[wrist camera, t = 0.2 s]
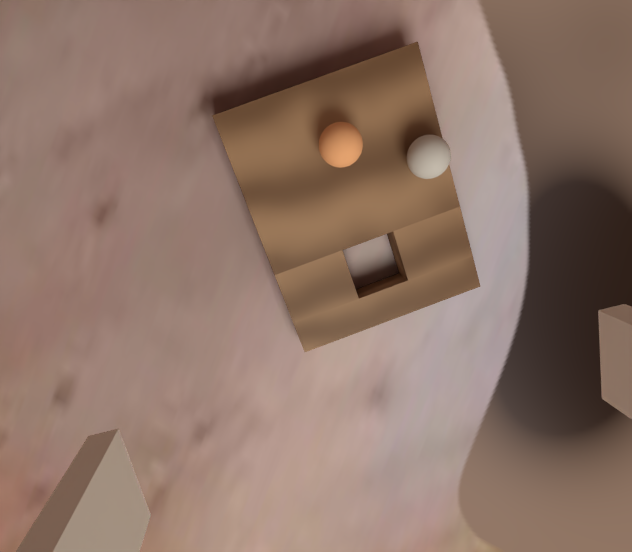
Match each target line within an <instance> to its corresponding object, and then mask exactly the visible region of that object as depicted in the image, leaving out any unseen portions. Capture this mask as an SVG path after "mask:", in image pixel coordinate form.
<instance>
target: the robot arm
mask: <svg viewBox="0 0 632 552" xmlns="http://www.w3.org/2000/svg"><path fill="white" fill-rule="evenodd" d="M599 336H600V363H601V388H602V399H603V400H605V401H606V402H608V403H609V404H611V405H612V406H614V407H615V408H616V409H618V410H619V411H621V412H622V413H624V414H625V415H626V416H628V417H629V418H631V419H632V307H630V306H628V305H626V304H623V305H619V306H615V307H611V308H607V309H603V310H599ZM150 516H151V514H150V512H149V509H148V506H147V503H146V501H145V498H144V495H143V493H142V490H141V487H140V485H139V482H138V479H137V477H136V474H135V471H134V469H133V466H132V463H131V461H130V458H129V455H128V453H127V450H126V447H125V445H124V442H123V439H122V436H121V434H120V431H119V429H115V430H111V431H107V432H103V433H99V434H95V435H91V436H88V438H87V439H86V441H85V442H84V444H83V446H82V447H81V449H80V450H79V452H78V454H77V455H76V457H75V458H74V460H73V462H72V463H71V465H70V466H69V468H68V469H67V471H66V473H65V474H64V476H63V477H62V479H61V481H60V482H59V484H58V485H57V487H56V489H55V490H54V492H53V493H52V495H51V496H50V498H49V500H48V501H47V503H46V504H45V506H44V508H43V509H42V511H41V512H40V514H39V516H38V517H37V519H36V520H35V522H34V524H33V525H32V527H31V528H30V530H29V531H28V533H27V535H26V536H25V538H24V539H23V541H22V543H21V544H20V546H19V547H18V549H17V551H16V552H140V548H141V545H142V542H143V539H144V536H145V532H146V529H147V526H148V523H149V520H150Z"/></svg>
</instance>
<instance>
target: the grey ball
mask: <svg viewBox="0 0 632 552" xmlns="http://www.w3.org/2000/svg"><path fill="white" fill-rule="evenodd" d="M450 159H451V152H450V148H449V146H448V144H447V143H446V141H445V140H444V139H442V138H441V137H439V136H436V135H424V136H421V137H419V138H417V139H416V140H415V141H414V142H413V143H412V144H411V145H410V147H409V149H408V152H407V164H408V167H409V169H410V170H411V172H412V173H413V174H414V175H416V176H417V177H420V178H423V179H431V178H435V177H437V176H439V175H441V174H442V173H443V172H444V171H445V170H446V169H447V167H448V165H449V163H450Z"/></svg>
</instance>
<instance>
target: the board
mask: <svg viewBox="0 0 632 552" xmlns="http://www.w3.org/2000/svg"><path fill="white" fill-rule="evenodd" d="M213 119H214V121H215V124H216V126H217V129H218V132H219V134H220V137H221V139H222V142H223V144H224V147H225V150H226V152H227V155H228V157H229V160H230V162H231V165H232V167H233V170H234V173H235V175H236V178H237V180H238V183H239V185H240V188H241V190H242V193H243V196H244V198H245V201H246V203H247V206H248V208H249V211H250V213H251V216H252V219H253V221H254V224H255V226H256V229H257V231H258V234H259V236H260V239H261V242H262V244H263V247H264V249H265V252H266V254H267V257H268V259H269V262H270V265H271V267H272V270H273V272H274V275H275V277H276V280H277V282H278V285H279V288H280V290H281V293H282V295H283V298H284V300H285V303H286V305H287V308H288V311H289V313H290V316H291V318H292V321H293V323H294V326H295V328H296V331H297V334H298V336H299V339H300V341H301V344H302V346H303V349H304V352H307V351H310V350H312V349H315V348H318V347H320V346H323V345H326V344H328V343H331V342H334V341H336V340H339V339H341V338H344V337H347V336H349V335H352V334H355V333H357V332H360V331H363V330H365V329H368V328H371V327H373V326H376V325H379V324H381V323H384V322H387V321H389V320H392V319H395V318H397V317H400V316H403V315H405V314H408V313H411V312H413V311H416V310H419V309H421V308H424V307H427V306H429V305H432V304H435V303H437V302H440V301H443V300H445V299H448V298H451V297H453V296H456V295H459V294H461V293H464V292H467V291H469V290H472V289H474V288H477V287H480V283H479V279H478V275H477V271H476V267H475V263H474V260H473V256H472V252H471V248H470V244H469V240H468V236H467V232H466V228H465V225H464V221H463V217H462V213H461V209H460V205H459V201H458V197H457V193H456V190H455V186H454V182H453V178H452V174H451V170H450V166H449V165H448V167H447V169H446V170H445V171H444V172H443V173H442V174H441V175H439V176H437V177H435V178H431V179H423V178H420V177H417V176H416V175H414V174H413V173H412V172H411V170H410V169H409V167H408V164H407V152H408V149H409V147H410V145H411V144H412V143H413V142H414V141H415V140H416V139H417V138H419V137H421V136H424V135H436V136H439V137H441V138H442V135H441V131H440V127H439V123H438V119H437V116H436V112H435V108H434V104H433V100H432V96H431V92H430V88H429V84H428V81H427V77H426V73H425V69H424V65H423V61H422V57H421V53H420V49H419V45H418V42H415V43H412V44H410V45H407V46H404V47H401V48H399V49H396V50H393V51H390V52H387V53H385V54H382V55H379V56H376V57H374V58H371V59H368V60H365V61H362V62H360V63H357V64H354V65H351V66H349V67H346V68H343V69H340V70H337V71H335V72H332V73H329V74H326V75H324V76H321V77H318V78H315V79H312V80H310V81H307V82H304V83H301V84H299V85H296V86H293V87H290V88H288V89H285V90H282V91H279V92H276V93H274V94H271V95H268V96H265V97H263V98H260V99H257V100H254V101H251V102H249V103H246V104H243V105H240V106H238V107H235V108H232V109H229V110H226V111H224V112H221V113H218V114H215V115H213ZM335 122H347V123H350V124H352V125H353V126H354V127H356V128H357V129H358V131H359V132H360V134H361V137H362V140H363V148H362V152H361V155H360V156H359V158H358V159H357V160H356V162H354V163H353V164H352V165H350V166H347V167H342V168H339V167H334V166H331V165H330V164H328V163H327V162H326V161H325V160H324V159H323V158H322V156H321V154H320V151H319V139H320V136H321V134H322V132H323V131H324V129H325V128H326V127H328V126H329V125H331V124H333V123H335ZM384 234H387V235H388V238H389V241H390V245H391V248H392V251H393V254H394V258H395V261H396V264H397V267H398V271H399V274H396V275H393V276H391V277H388V278H385V279H383V280H380V281H377V282H374V283H372V284H369V285H366V286H364V287H361V288H358V289H355V286H354V283H353V280H352V277H351V274H350V271H349V268H348V266H347V263H346V260H345V257H344V254H343V251H342V250H344V249H347V248H349V247H352V246H355V245H358V244H360V243H363V242H366V241H368V240H371V239H374V238H376V237H379V236H382V235H384Z"/></svg>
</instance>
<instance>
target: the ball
mask: <svg viewBox="0 0 632 552" xmlns="http://www.w3.org/2000/svg"><path fill="white" fill-rule="evenodd" d="M362 148H363V140H362V137H361V134H360V132H359V131H358V129H357V128H356V127H354V126H353V125H352V124H350V123H347V122H335V123H333V124H331V125H329V126H328V127H326V128H325V129H324V131H323V132H322V134H321V136H320V139H319V151H320V154H321V156H322V158H323V159H324V160H325V161H326V162H327V163H328V164H330V165H331V166H334V167H339V168H342V167H347V166H350V165H352V164H353V163H354V162H356V160H357V159H358V158H359V156H360V155H361V152H362Z"/></svg>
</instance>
